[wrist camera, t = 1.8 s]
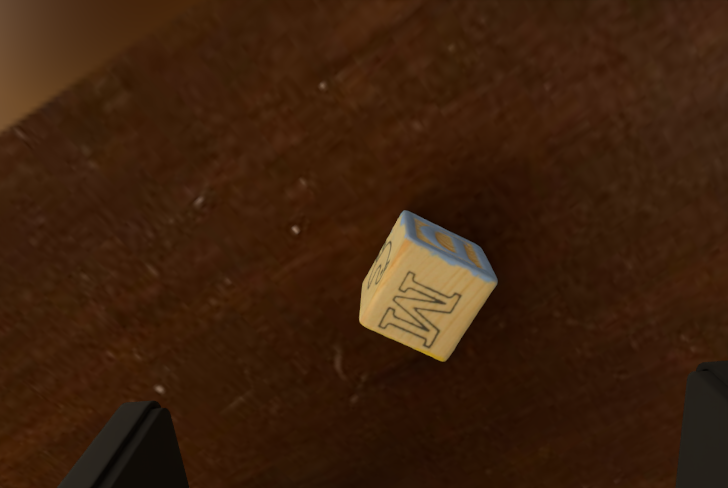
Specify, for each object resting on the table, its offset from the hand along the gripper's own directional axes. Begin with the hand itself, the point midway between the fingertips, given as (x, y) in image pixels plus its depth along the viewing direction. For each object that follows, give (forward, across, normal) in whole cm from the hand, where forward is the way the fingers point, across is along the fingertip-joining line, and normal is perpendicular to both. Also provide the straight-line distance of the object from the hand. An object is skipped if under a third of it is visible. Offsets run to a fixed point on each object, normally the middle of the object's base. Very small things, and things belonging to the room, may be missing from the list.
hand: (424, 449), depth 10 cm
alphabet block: (+9, -1, 0) cm, 9 cm away
